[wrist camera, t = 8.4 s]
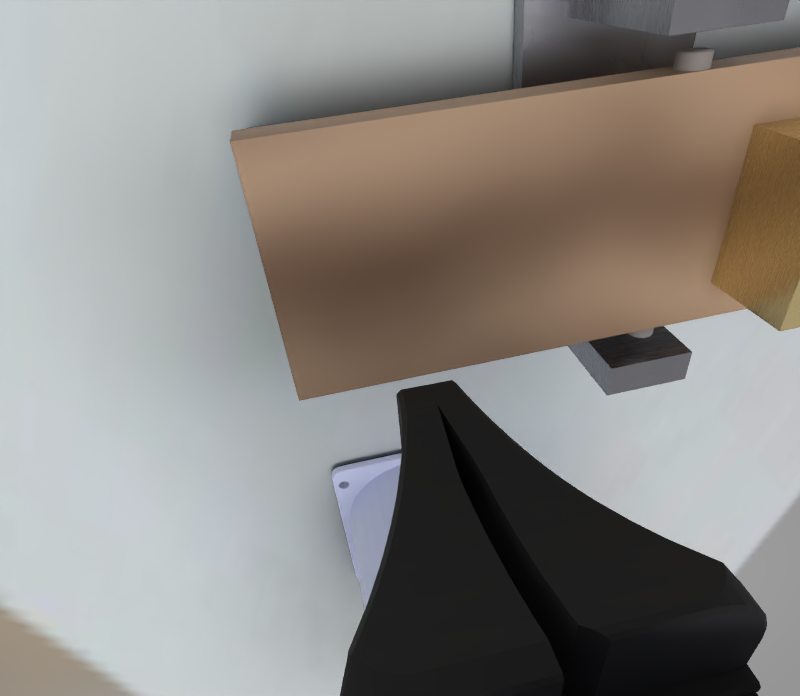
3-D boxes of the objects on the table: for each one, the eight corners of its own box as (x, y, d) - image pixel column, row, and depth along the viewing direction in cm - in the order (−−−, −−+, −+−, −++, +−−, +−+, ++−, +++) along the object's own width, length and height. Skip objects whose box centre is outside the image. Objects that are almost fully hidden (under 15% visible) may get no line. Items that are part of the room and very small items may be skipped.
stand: (811, 256, 26) (937, 324, 21) (302, 355, 23) (312, 458, 18) (940, -76, 18) (1178, -89, 14) (218, 13, 16) (199, 35, 11)
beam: (920, 264, 21) (1038, 318, 18) (299, 390, 18) (308, 480, 15) (1060, -7, 16) (1261, 2, 13) (227, 113, 13) (217, 161, 10)
